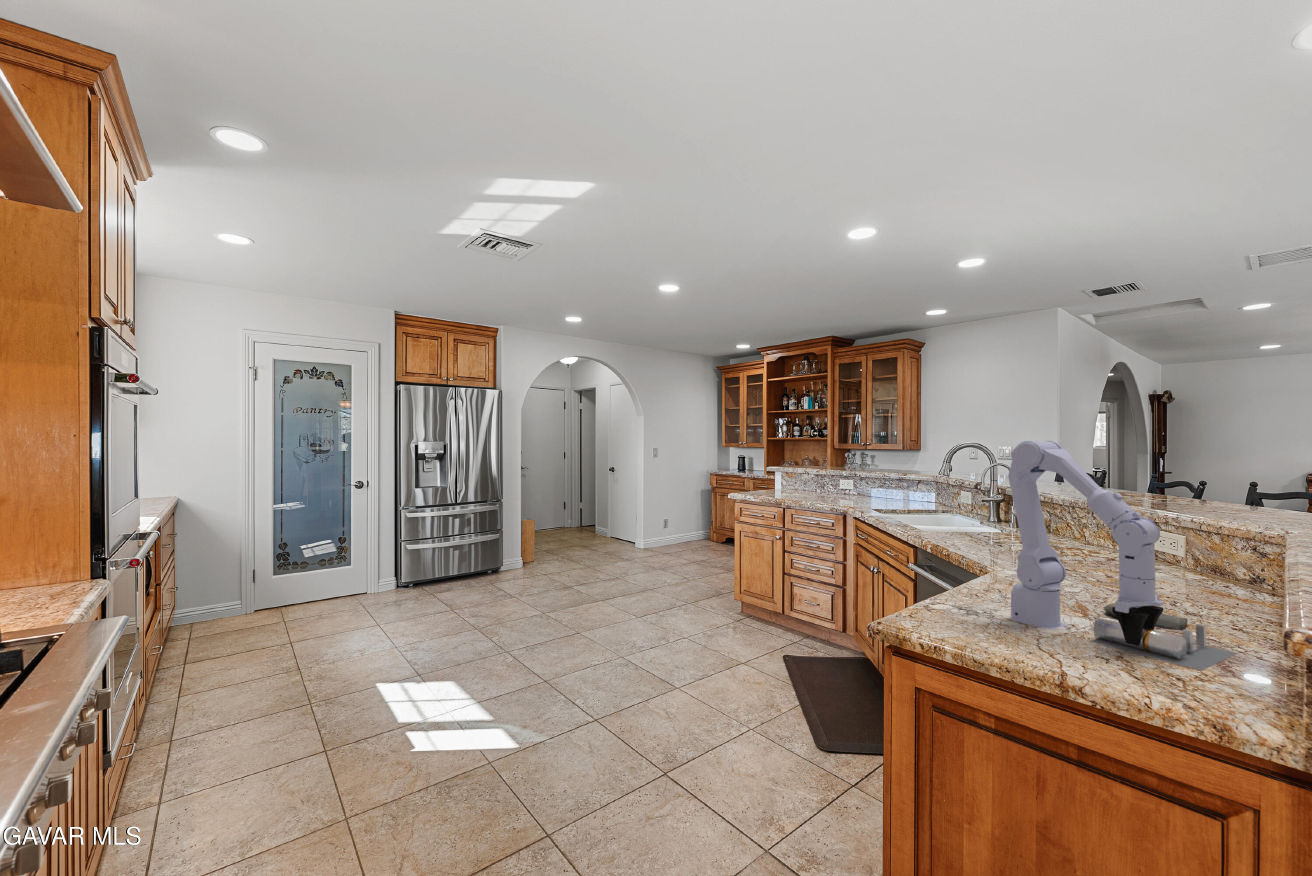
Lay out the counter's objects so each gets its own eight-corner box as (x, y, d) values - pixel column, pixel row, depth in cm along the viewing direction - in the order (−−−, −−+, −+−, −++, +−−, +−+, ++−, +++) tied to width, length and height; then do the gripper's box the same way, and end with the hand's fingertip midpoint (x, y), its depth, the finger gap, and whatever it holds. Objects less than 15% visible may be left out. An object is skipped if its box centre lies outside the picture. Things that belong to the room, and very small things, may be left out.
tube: (1093, 639, 120) (1093, 619, 121) (1103, 636, 123) (1103, 616, 123) (1177, 661, 108) (1177, 638, 108) (1187, 657, 110) (1186, 635, 110)
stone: (1099, 618, 137) (1182, 643, 126) (1101, 603, 136) (1185, 626, 125) (1107, 605, 144) (1186, 627, 133) (1110, 590, 143) (1189, 611, 132)
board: (1089, 644, 120) (1089, 641, 120) (1129, 630, 128) (1129, 627, 128) (1201, 673, 104) (1201, 670, 104) (1237, 656, 112) (1237, 653, 112)
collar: (1182, 652, 113) (1182, 630, 113) (1198, 645, 117) (1198, 623, 117) (1190, 654, 112) (1189, 631, 112) (1206, 647, 116) (1206, 625, 116)
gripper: (1145, 585, 109) (1146, 654, 108) (1176, 576, 116) (1178, 641, 115) (1102, 577, 115) (1103, 643, 115) (1135, 569, 122) (1136, 631, 121)
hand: (1138, 641), depth 115 cm, fingers closed on tube, 4 cm apart
